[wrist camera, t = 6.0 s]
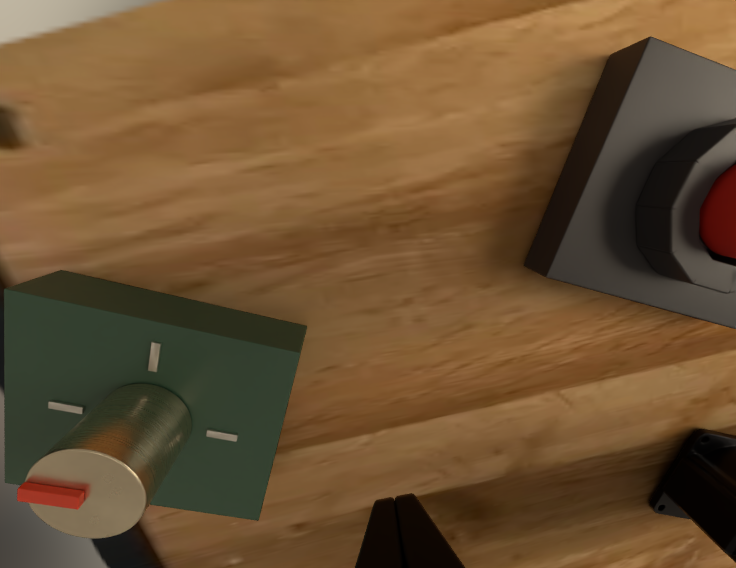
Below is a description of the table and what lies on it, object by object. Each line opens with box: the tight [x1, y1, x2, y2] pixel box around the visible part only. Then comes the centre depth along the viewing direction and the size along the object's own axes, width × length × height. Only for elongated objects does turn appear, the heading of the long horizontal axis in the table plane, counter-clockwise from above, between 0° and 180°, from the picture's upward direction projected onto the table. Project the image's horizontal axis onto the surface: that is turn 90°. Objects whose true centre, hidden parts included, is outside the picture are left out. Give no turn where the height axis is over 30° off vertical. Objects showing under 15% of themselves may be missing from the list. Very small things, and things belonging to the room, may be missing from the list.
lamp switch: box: [524, 37, 736, 329], centre depth 16 cm, size 12×10×4 cm
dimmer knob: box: [17, 383, 192, 538], centre depth 14 cm, size 4×4×4 cm
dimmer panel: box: [4, 270, 307, 521], centre depth 18 cm, size 12×10×3 cm
